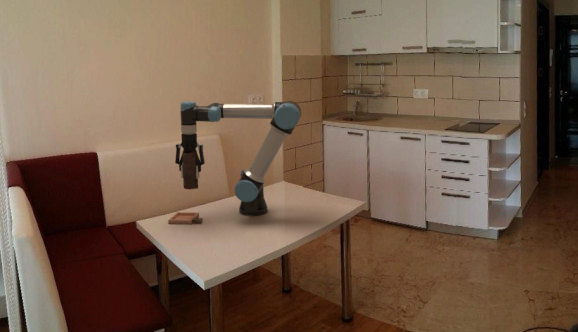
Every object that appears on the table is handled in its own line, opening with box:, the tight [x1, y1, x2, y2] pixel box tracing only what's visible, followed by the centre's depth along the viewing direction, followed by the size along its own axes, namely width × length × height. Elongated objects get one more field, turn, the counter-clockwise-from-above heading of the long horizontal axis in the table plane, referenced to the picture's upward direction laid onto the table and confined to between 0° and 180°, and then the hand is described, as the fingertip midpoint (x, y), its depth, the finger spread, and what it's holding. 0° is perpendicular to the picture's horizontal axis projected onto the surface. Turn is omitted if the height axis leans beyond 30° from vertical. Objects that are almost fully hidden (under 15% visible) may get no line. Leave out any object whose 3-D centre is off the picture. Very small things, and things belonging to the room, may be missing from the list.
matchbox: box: [191, 217, 203, 225], centre depth 261 cm, size 5×3×2 cm, turn 82°
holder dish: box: [167, 211, 200, 225], centre depth 266 cm, size 12×13×2 cm
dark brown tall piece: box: [182, 150, 199, 191], centre depth 261 cm, size 8×7×20 cm
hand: (190, 177), depth 262 cm, fingers closed on dark brown tall piece, 7 cm apart
